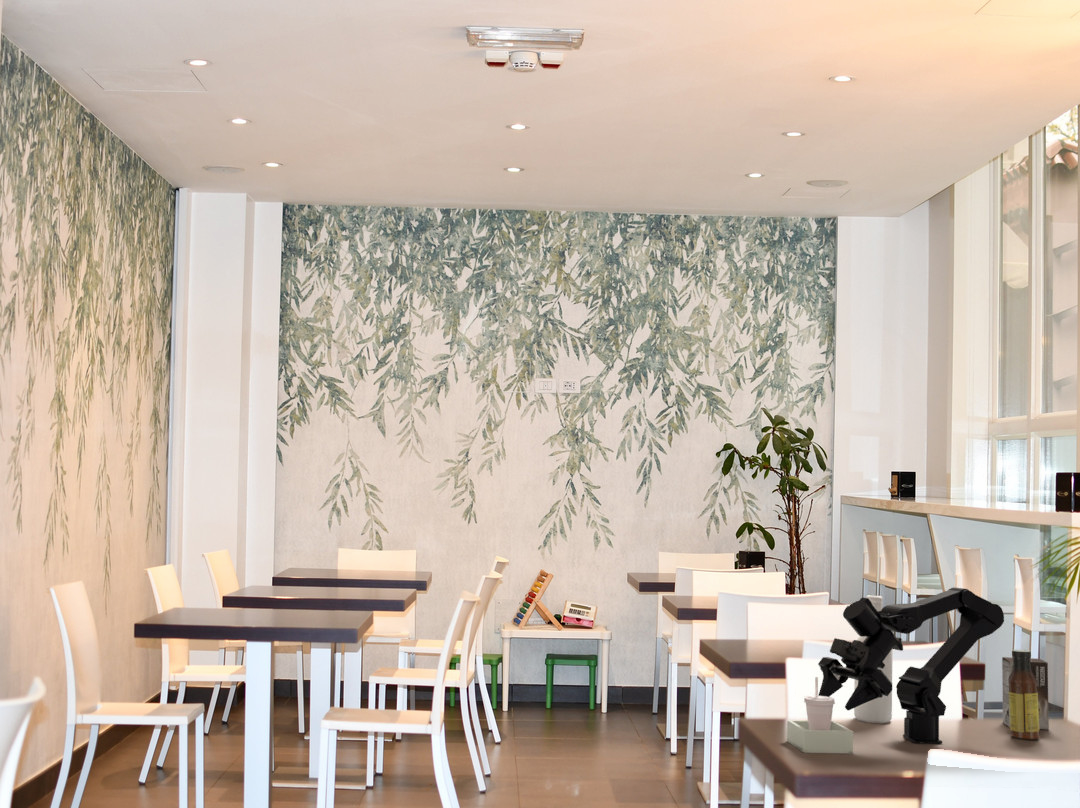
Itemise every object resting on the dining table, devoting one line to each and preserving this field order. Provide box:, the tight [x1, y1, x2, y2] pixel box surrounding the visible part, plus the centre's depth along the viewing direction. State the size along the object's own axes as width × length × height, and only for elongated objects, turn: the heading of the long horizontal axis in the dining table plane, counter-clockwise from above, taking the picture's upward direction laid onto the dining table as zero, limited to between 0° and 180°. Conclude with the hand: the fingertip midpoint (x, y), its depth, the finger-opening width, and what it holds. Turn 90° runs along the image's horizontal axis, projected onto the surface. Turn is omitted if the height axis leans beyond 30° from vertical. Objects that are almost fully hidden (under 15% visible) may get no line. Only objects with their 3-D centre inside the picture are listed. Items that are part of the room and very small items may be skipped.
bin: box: [786, 719, 854, 754], centre depth 230 cm, size 11×11×4 cm
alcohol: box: [853, 594, 893, 725], centre depth 263 cm, size 9×9×30 cm
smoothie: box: [803, 676, 836, 730], centre depth 230 cm, size 6×6×14 cm
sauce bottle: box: [1008, 649, 1040, 741], centre depth 249 cm, size 6×6×20 cm
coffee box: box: [1001, 656, 1050, 730], centre depth 262 cm, size 9×6×16 cm
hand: (832, 704), depth 231 cm, fingers open, 9 cm apart
